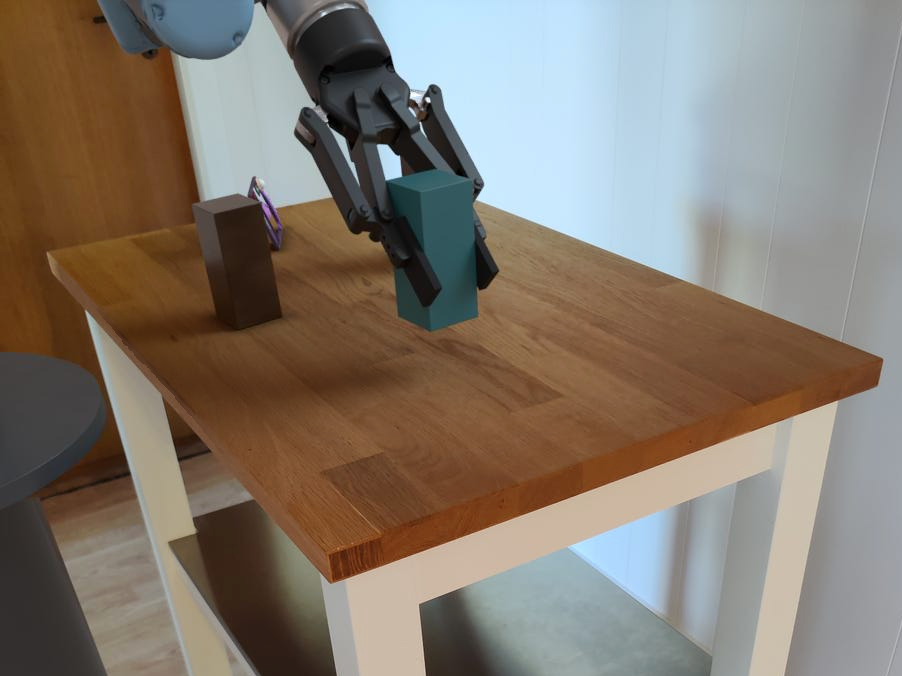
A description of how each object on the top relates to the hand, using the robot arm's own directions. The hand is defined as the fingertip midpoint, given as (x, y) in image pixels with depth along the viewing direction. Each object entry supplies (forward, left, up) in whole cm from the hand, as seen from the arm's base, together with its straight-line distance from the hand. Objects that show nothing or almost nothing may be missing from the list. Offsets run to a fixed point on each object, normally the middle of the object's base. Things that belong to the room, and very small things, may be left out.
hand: (461, 288), depth 81 cm
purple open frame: (-24, +45, -8) cm, 52 cm away
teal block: (-2, +3, -3) cm, 5 cm away
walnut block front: (-22, +19, -8) cm, 30 cm away
